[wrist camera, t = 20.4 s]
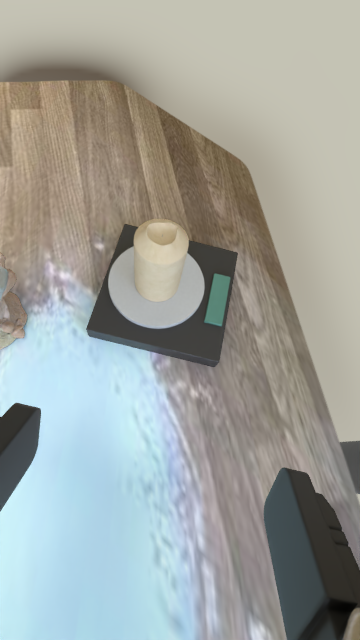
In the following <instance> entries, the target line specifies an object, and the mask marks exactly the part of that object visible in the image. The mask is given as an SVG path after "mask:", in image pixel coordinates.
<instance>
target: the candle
mask: <svg viewBox="0 0 360 640" xmlns="http://www.w3.org/2000/svg"><path fill="white" fill-rule="evenodd" d="M188 246H189V240H188V236H187V234H186V232H185V231H184V229H183V228H182V227H181V226H180V225H178V224H177V223H175V222H173V221H170V220H167V219H152V220H149V221H146V222H144V223H143V224H141V225H140V226H139V227H138V229H137V230H136V232H135V235H134V278H135V286H136V289H137V291H138V292H139V294H140V295H141V296H142V297H144V298H145V299H147V300H149V301H153V302H162V301H166V300H168V299H170V298H171V297H173V296H174V294H175V293H176V292H177V290H178V287H179V284H180V280H181V275H182V271H183V267H184V263H185V259H186V255H187V251H188Z"/></svg>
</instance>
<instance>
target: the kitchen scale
mask: <svg viewBox="0 0 360 640" xmlns="http://www.w3.org/2000/svg"><path fill="white" fill-rule="evenodd" d="M137 229H138V227H135V226H131V225H127V224H125V225H124V227H123V230H122V233H121V236H120V238H119V241H118V244H117V247H116V249H115V252H114V255H113V258H112V260H111V263H110V266H109V268H108V271H107V274H106V277H105V279H104V282H103V285H102V288H101V290H100V293H99V296H98V299H97V301H96V304H95V307H94V309H93V312H92V315H91V318H90V320H89V323H88V326H87V329H86V330H87V332H88V335H89V336H90V337H94V338H98V339H102V340H106V341H111V342H115V343H119V344H123V345H127V346H131V347H135V348H139V349H143V350H147V351H151V352H155V353H159V354H163V355H168V356H172V357H176V358H180V359H184V360H188V361H192V362H196V363H200V364H204V365H208V366H212V367H215V366H216V365H217V364H218V363H219V360H220V354H221V348H222V342H223V336H224V330H225V325H226V319H227V313H228V307H229V301H230V295H231V290H232V284H233V278H234V272H235V266H236V260H237V255H238V253H237V252H233V251H229V250H225V249H221V248H217V247H213V246H209V245H205V244H201V243H197V242H194V241H190V240H189V246H188V251H187V255H186V259H185V263H184V267H183V271H182V275H181V280H180V284H179V287H178V290H177V292H176V293H175V294H174V296H173V297H171V298H170V299H168V300H166V301H162V302H153V301H149V300H147V299H145V298H144V297H142V296H141V295H140V294H139V292H138V291H137V289H136V286H135V278H134V235H135V232H136V230H137Z"/></svg>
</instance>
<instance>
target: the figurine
mask: <svg viewBox="0 0 360 640" xmlns="http://www.w3.org/2000/svg"><path fill="white" fill-rule="evenodd" d="M5 259H6V258H5V256H4V254H2V253H0V349H2V348H4V347H6V346H8V345H10V344H11V343H12V342H13V341H14V340H15V339H16V338H24V336H25V331H24V329H23V327H24V326H25V324H26V321H27V314H26V312H25V311H24V309H23V308H22V306H21V303H20V300H19V298H18V297H17V296H16V295H15V294H14V293H11V292H9V291H10V290H11V288H12V287H13V286H14V285H15V282H16V280H17V279H16V275H15V273H14V272H13V271H12V270H10V269H5Z"/></svg>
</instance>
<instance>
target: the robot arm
mask: <svg viewBox="0 0 360 640" xmlns="http://www.w3.org/2000/svg"><path fill="white" fill-rule="evenodd" d="M40 418H41V409H40V408H37V407H32V406H28V405H24V404H20V403H15V404H14V405H12V406H11V408H10V409H9V410H8V411H7V412H6V413H5V414H4V415H3V416H2V417H0V511H1V510H2V508H3V506H4V505H5V503H6V502H7V500H8V499H9V497H10V496H11V494H12V493H13V491H14V489H15V488H16V486H17V485H18V483H19V482H20V480H21V479H22V477H23V475H24V474H25V472H26V471H27V469H28V468H29V466H30V464H31V463H32V461H33V459H34V456H35V454H36V451H37V447H38V439H39V428H40ZM264 522H265V527H266V533H267V538H268V543H269V548H270V553H271V559H272V564H273V569H274V574H275V579H276V585H277V590H278V595H279V600H280V605H281V611H282V616H283V621H284V626H285V631H286V636H287V640H360V570H359V567H358V565H357V563H356V560H355V558H354V556H353V553H352V551H351V549H350V547H348V541H347V539H346V537H345V534H344V532H342V527H341V525H340V523H339V520H338V518H337V515H336V513H335V511H334V509H333V508H332V507H331V506H330V504H329V503H328V502H327V500H326V499H325V498H324V496H323V495H322V494H319V493H316V492H315V490H314V487H313V485H312V482H311V479H310V477H309V475H308V474H307V473H305V472H301V471H296V470H292V469H288V468H282V469H281V470H280V471H279V473H278V475H277V477H276V480H275V482H274V484H273V486H272V488H271V490H270V492H269V494H268V496H267V499H266V501H265V506H264Z"/></svg>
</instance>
